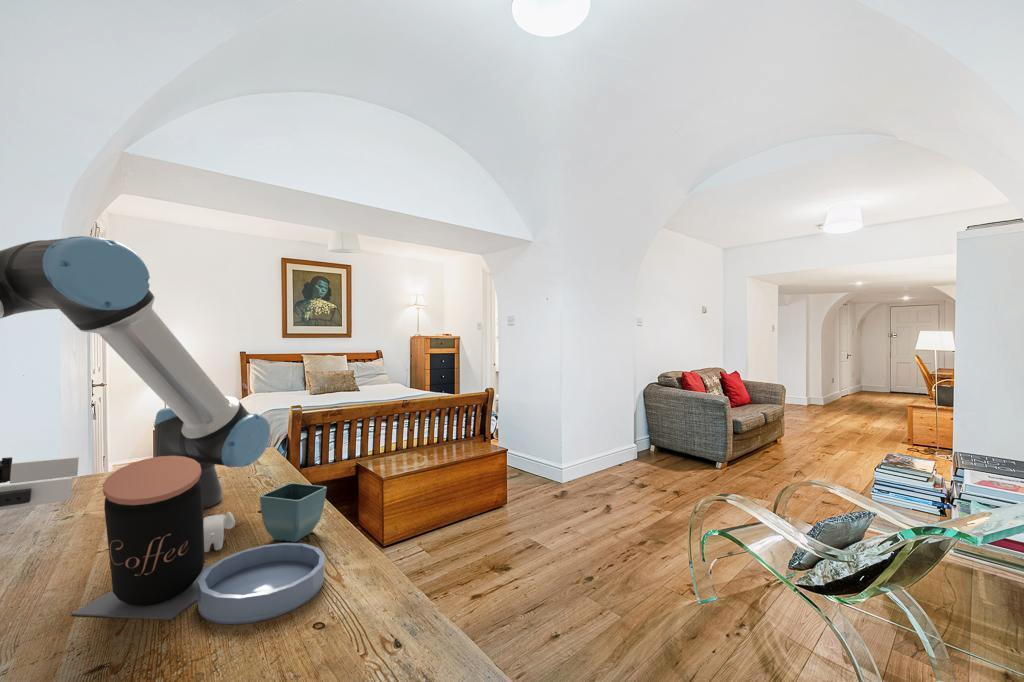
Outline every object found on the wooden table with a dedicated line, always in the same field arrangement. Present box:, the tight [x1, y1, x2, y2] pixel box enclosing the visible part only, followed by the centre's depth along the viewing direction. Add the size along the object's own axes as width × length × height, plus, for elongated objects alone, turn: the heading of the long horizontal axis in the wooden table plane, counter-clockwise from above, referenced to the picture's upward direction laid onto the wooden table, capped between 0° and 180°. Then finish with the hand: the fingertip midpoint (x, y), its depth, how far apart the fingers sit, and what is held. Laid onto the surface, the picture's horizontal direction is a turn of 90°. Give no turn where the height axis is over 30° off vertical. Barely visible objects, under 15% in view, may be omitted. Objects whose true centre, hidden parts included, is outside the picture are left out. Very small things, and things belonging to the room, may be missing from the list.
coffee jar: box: [102, 456, 206, 606], centre depth 62 cm, size 11×11×18 cm
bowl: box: [196, 542, 326, 625], centre depth 66 cm, size 17×17×4 cm
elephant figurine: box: [203, 511, 236, 553], centre depth 79 cm, size 7×8×6 cm
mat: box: [71, 564, 211, 621], centre depth 65 cm, size 14×14×1 cm
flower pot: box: [259, 482, 328, 543], centre depth 85 cm, size 9×9×9 cm
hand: (75, 476), depth 59 cm, fingers open, 13 cm apart
